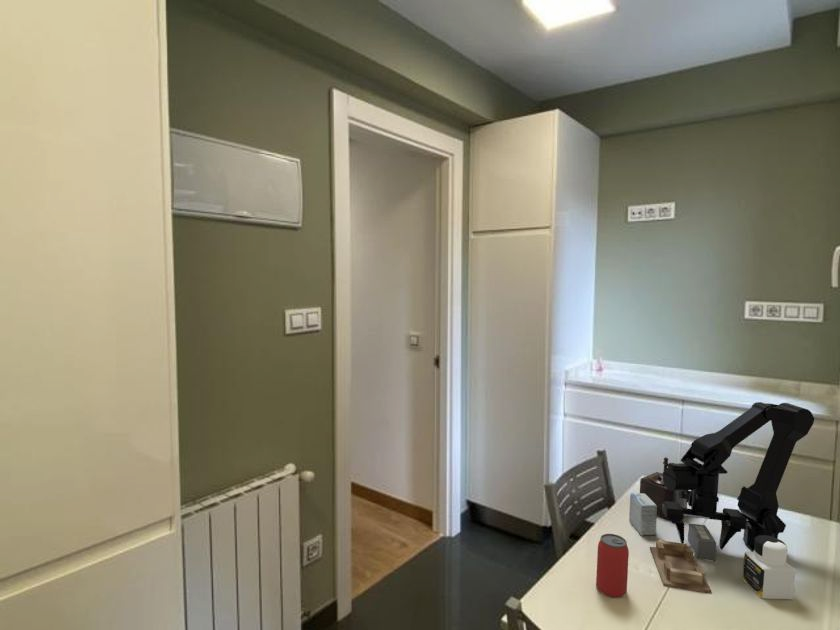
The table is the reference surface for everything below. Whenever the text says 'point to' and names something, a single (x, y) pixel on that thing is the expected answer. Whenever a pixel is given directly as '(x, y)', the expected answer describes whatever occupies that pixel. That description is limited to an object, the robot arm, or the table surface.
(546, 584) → the table surface
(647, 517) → the medicine box
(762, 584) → the medicine bottle
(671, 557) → the cradle board
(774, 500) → the robot arm
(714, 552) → the power strip
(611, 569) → the beer can
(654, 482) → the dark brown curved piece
